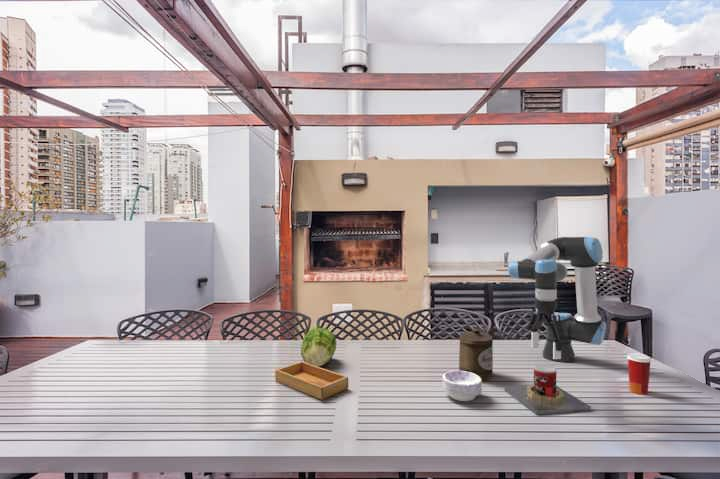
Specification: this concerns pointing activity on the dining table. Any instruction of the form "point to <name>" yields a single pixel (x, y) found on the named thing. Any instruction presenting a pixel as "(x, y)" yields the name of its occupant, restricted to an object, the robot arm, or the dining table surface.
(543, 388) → the canned food
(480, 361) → the wooden container
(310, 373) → the tray
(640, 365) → the coffee cup
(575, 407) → the collar plate
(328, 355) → the lettuce
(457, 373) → the paper bowls
